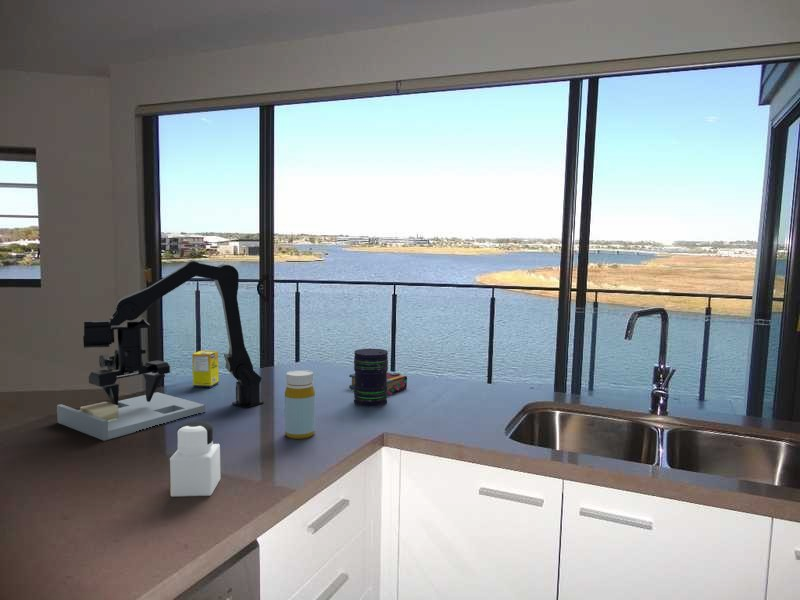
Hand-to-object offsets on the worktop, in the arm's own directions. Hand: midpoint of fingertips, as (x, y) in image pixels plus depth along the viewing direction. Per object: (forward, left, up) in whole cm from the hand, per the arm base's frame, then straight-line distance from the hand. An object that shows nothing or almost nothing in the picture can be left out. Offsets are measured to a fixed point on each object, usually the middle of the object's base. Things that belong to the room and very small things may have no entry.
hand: (132, 405), depth 140 cm
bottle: (-44, -16, -4) cm, 47 cm away
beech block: (0, +8, -1) cm, 8 cm away
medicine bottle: (-49, +16, -4) cm, 52 cm away
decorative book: (-34, -62, -4) cm, 71 cm away
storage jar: (-41, -48, -4) cm, 63 cm away
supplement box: (+13, -32, -4) cm, 35 cm away
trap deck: (0, -1, -3) cm, 3 cm away
